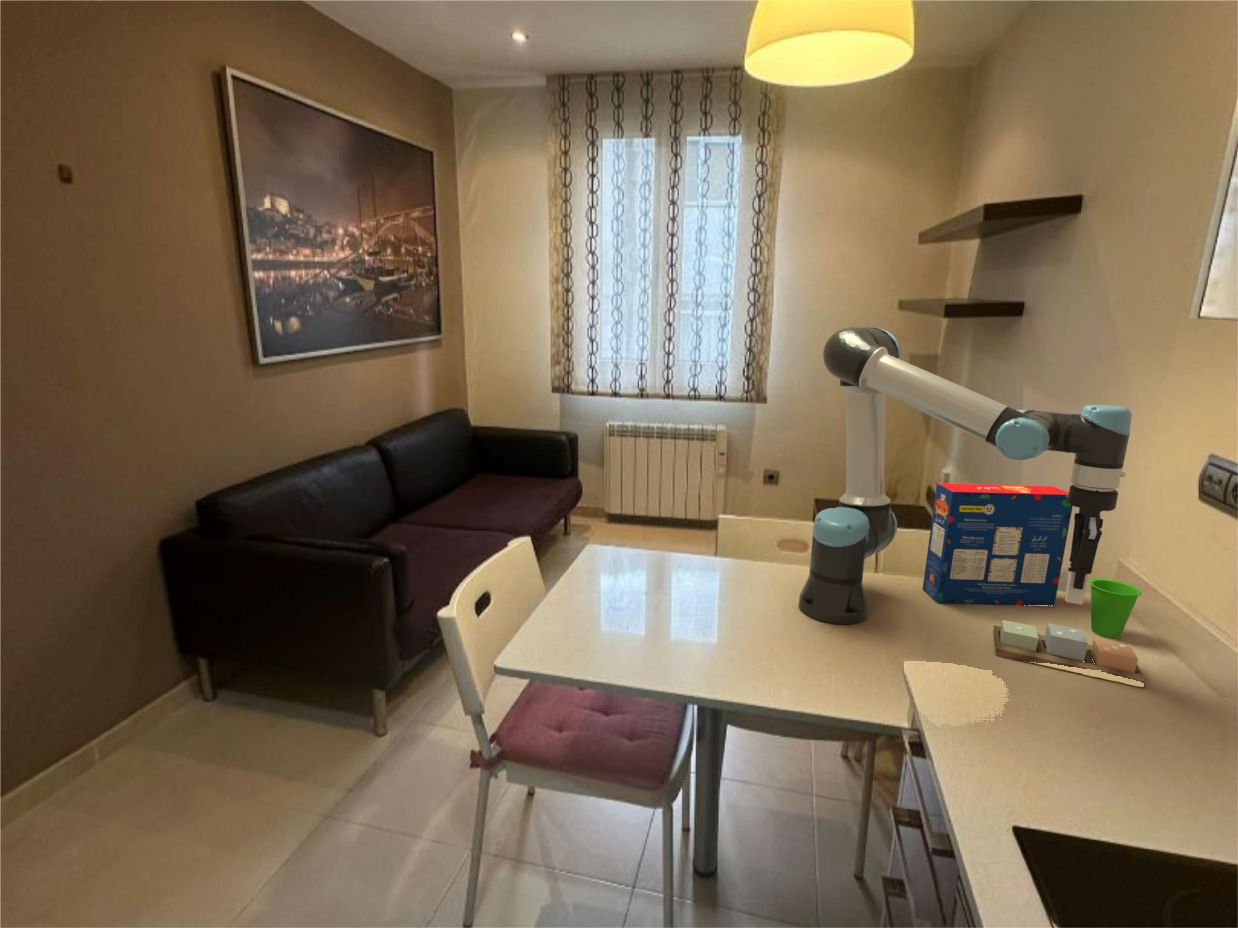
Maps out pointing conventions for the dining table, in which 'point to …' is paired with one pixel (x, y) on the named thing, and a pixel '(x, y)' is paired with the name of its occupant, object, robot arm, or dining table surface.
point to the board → (1056, 657)
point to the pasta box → (996, 544)
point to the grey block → (1065, 642)
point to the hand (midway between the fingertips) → (1073, 601)
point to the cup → (1111, 606)
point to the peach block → (1113, 655)
